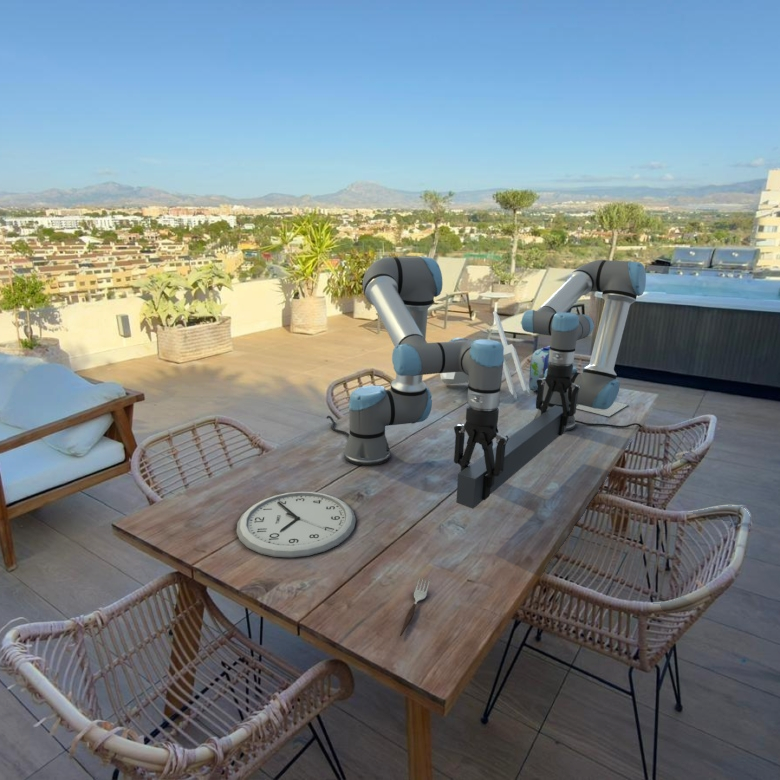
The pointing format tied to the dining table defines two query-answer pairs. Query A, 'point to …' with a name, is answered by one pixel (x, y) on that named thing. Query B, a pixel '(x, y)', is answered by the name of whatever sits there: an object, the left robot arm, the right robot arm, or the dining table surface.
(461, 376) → the white plastic object
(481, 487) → the post
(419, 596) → the fork
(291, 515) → the wall clock
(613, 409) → the invitation card
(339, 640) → the dining table surface
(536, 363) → the lunch box
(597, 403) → the right robot arm
